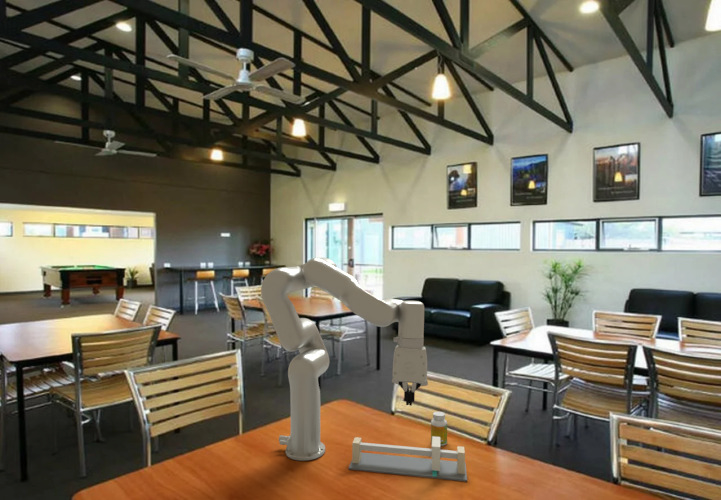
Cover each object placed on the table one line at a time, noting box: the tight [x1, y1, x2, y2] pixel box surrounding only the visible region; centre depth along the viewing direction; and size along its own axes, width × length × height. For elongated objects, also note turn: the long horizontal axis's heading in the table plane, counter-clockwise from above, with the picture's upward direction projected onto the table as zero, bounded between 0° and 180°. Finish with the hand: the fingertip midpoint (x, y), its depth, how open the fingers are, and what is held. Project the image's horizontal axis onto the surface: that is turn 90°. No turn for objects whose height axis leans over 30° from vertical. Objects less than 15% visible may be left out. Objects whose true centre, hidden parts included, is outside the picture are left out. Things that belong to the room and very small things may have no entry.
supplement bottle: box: [430, 411, 448, 447], centre depth 141 cm, size 5×5×10 cm
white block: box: [431, 436, 441, 471], centre depth 124 cm, size 2×7×7 cm, turn 169°
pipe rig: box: [348, 436, 468, 482], centre depth 125 cm, size 34×10×6 cm, turn 79°
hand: (409, 403), depth 126 cm, fingers closed
